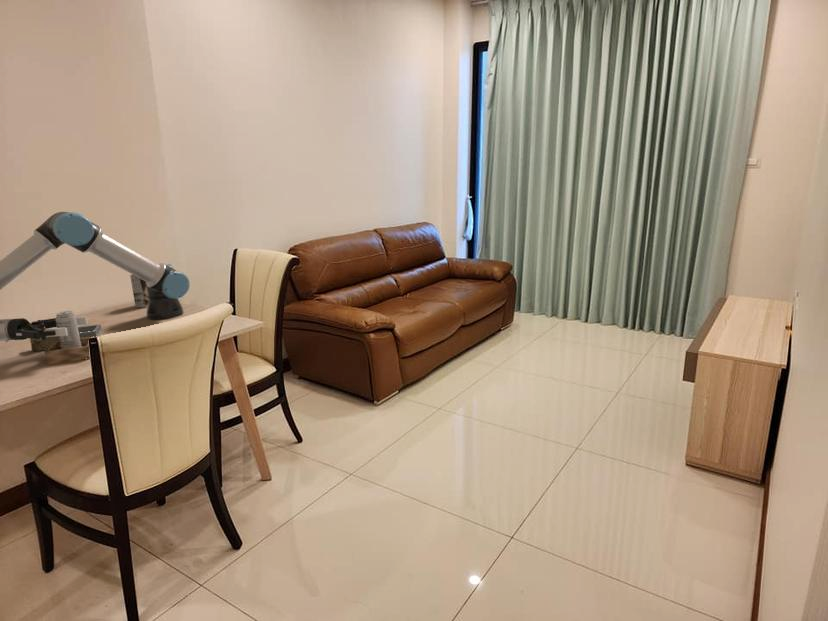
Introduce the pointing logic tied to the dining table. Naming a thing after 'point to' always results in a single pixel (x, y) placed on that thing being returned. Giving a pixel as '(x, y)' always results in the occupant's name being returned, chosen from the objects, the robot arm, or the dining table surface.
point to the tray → (89, 328)
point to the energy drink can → (68, 329)
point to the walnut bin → (67, 352)
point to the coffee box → (139, 291)
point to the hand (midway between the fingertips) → (77, 325)
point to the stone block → (43, 343)
